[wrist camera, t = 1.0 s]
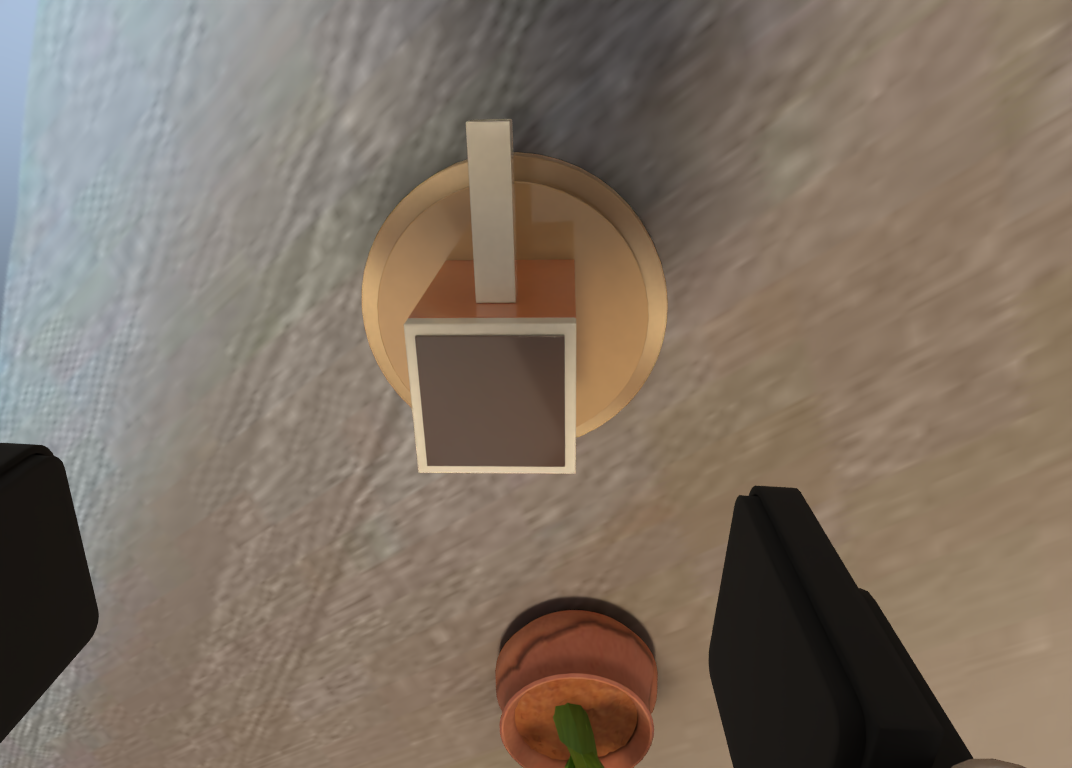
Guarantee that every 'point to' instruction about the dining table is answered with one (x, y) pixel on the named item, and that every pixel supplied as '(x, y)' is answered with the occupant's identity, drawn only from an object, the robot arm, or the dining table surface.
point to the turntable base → (545, 173)
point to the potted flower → (576, 693)
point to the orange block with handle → (509, 318)
